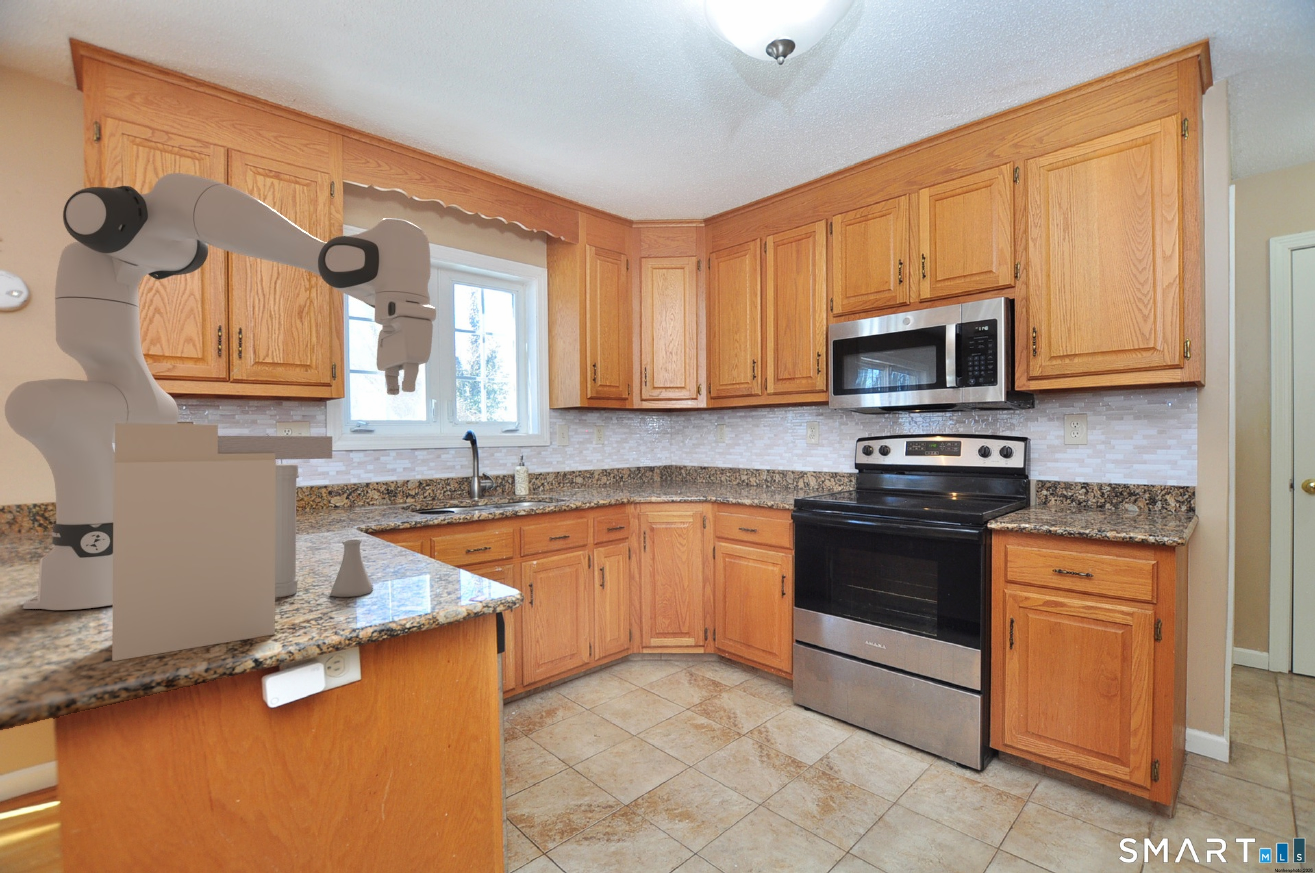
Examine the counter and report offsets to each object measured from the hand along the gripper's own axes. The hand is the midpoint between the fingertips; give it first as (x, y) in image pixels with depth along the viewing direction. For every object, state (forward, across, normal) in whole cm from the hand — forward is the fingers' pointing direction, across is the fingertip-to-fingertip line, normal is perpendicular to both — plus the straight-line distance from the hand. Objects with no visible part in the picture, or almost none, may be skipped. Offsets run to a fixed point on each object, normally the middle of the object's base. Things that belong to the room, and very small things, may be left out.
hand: (400, 393), depth 105 cm
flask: (+38, -14, -4) cm, 40 cm away
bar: (+12, 0, -20) cm, 23 cm away
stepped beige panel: (+38, -1, -27) cm, 46 cm away
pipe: (+38, -22, -15) cm, 46 cm away
